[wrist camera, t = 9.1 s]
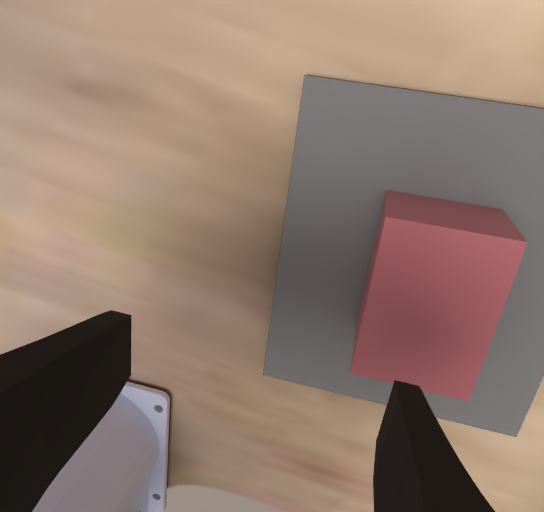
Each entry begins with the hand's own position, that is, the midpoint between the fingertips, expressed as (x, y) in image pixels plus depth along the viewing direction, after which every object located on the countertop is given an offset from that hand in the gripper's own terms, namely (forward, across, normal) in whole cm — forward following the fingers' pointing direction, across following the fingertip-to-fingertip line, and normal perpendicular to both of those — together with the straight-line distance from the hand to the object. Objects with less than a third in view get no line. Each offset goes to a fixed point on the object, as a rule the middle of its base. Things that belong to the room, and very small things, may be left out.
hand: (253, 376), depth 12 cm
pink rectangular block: (+9, -5, 0) cm, 10 cm away
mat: (+9, -5, 0) cm, 11 cm away
